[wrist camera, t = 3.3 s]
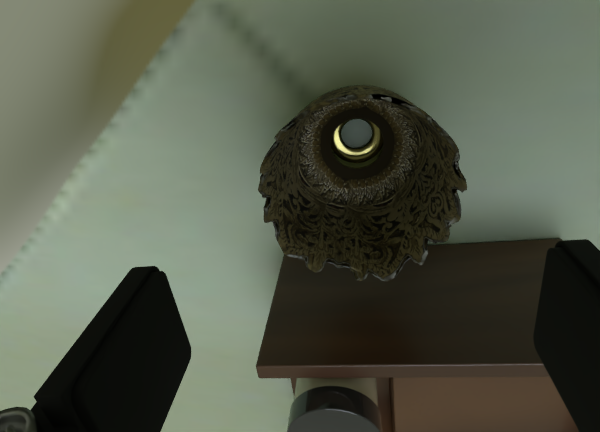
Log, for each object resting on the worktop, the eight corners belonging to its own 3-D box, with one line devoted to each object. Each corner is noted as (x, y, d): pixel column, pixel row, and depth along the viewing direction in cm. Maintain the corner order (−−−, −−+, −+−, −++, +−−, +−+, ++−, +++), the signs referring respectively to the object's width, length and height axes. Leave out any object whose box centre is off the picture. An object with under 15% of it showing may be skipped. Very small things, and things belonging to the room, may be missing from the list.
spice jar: (298, 298, 24) (279, 408, 18) (372, 295, 23) (381, 409, 17) (307, 351, 26) (293, 468, 20) (376, 350, 25) (385, 470, 19)
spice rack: (284, 252, 26) (255, 366, 18) (561, 237, 24) (665, 362, 16) (316, 432, 34) (306, 564, 26) (525, 435, 32) (582, 582, 24)
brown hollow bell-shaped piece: (273, 176, 24) (240, 255, 17) (305, 41, 20) (281, 69, 13) (398, 211, 24) (418, 303, 17) (453, 83, 20) (506, 134, 13)
